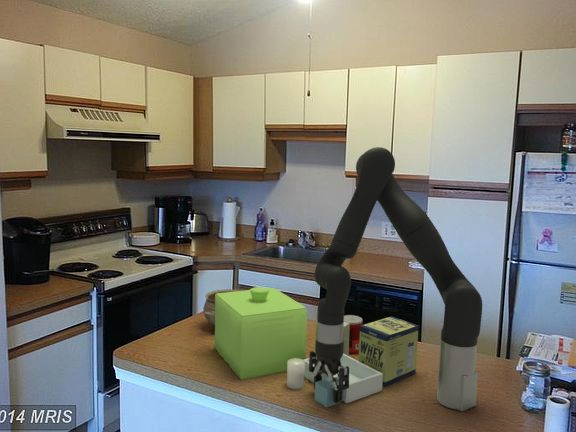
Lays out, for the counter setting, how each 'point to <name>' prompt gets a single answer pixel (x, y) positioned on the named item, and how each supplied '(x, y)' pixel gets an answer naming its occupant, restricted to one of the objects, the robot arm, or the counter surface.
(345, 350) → the skincare box
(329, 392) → the cube
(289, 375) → the white piece
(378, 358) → the protein box
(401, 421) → the counter surface
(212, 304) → the cooking pot
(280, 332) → the canister
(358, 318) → the canned food
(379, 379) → the tote
